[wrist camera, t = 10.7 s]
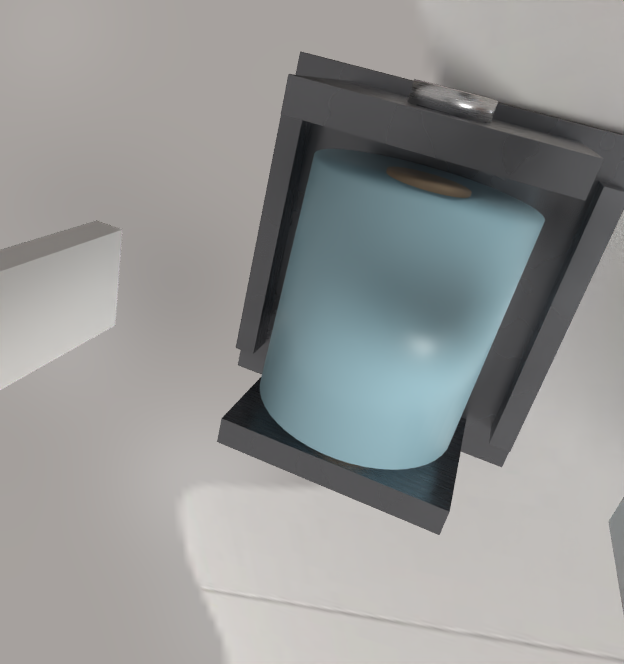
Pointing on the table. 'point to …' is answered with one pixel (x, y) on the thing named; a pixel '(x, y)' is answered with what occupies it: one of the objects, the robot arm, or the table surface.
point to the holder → (466, 161)
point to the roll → (390, 306)
